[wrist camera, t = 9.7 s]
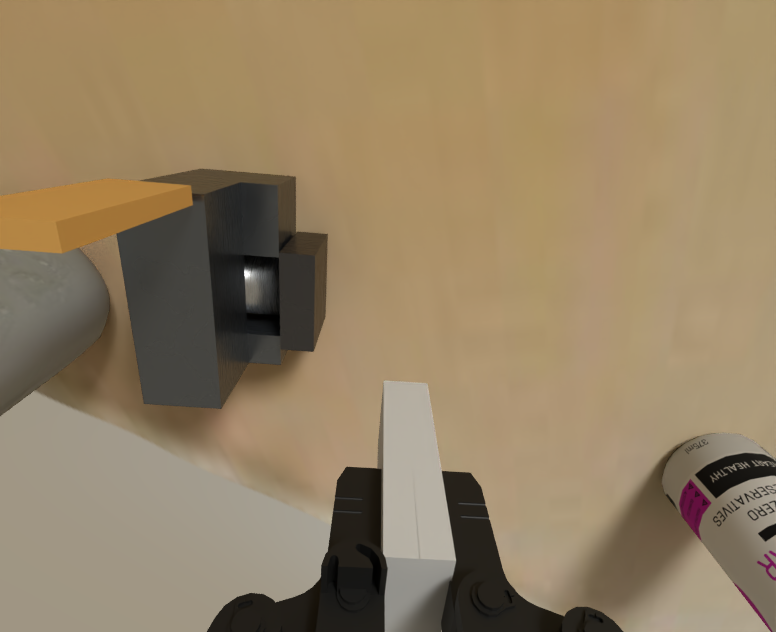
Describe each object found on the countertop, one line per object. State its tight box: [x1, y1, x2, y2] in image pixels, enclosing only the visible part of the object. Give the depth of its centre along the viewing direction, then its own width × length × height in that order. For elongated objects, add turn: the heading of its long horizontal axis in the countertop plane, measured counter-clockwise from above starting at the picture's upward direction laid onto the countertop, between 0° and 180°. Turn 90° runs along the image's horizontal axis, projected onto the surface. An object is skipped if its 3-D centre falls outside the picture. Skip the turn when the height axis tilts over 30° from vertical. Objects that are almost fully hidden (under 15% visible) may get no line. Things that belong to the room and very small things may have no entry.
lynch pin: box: [244, 232, 328, 352], centre depth 28 cm, size 6×11×6 cm, turn 85°
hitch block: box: [116, 169, 296, 409], centre depth 25 cm, size 11×6×10 cm, turn 175°
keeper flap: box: [0, 179, 193, 254], centre depth 14 cm, size 8×3×1 cm
